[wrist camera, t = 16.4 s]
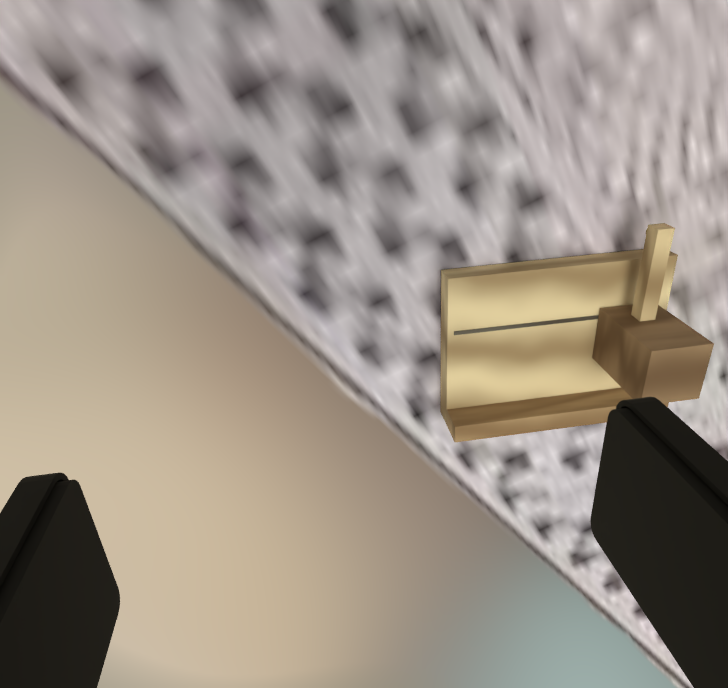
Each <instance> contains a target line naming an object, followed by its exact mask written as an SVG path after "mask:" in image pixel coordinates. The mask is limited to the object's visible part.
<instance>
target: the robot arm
mask: <svg viewBox="0 0 728 688" xmlns="http://www.w3.org/2000/svg"><path fill="white" fill-rule="evenodd" d="M591 528H592V532H593V534H594V537H595V539H596V540H597V542H598V543H599V545H600V547H601V548H602V550H603V551H604V553H605V554H606V556H607V557H608V559H609V560H610V562H611V563H612V565H613V566H614V568H615V569H616V571H617V572H618V574H619V575H620V577H621V578H622V580H623V581H624V583H625V584H626V586H627V587H628V589H629V590H630V592H631V593H632V595H633V596H634V598H635V599H636V601H637V602H638V604H639V605H640V607H641V609H642V610H643V612H644V613H645V615H646V616H647V618H648V619H649V621H650V622H651V624H652V625H653V627H654V628H655V630H656V631H657V633H658V634H659V636H660V637H661V639H662V640H663V642H664V643H665V645H666V646H667V648H668V649H669V651H670V652H671V654H672V655H673V657H674V658H675V660H676V661H677V663H678V664H679V666H680V667H681V669H682V670H683V672H684V674H685V675H686V677H687V678H688V680H689V681H690V683H691V684H692V686H693V687H694V688H728V461H727V460H726V459H724V458H723V457H722V456H721V455H720V454H719V453H718V452H717V451H716V450H714V449H713V448H712V447H711V446H710V445H709V444H708V443H707V442H705V441H704V440H703V439H702V438H701V437H700V436H699V435H698V434H697V433H695V432H694V431H693V430H692V429H691V428H690V427H689V426H688V425H686V424H685V423H684V422H683V421H682V420H681V419H680V418H679V417H678V416H676V415H675V414H674V413H673V412H672V411H671V410H670V409H669V408H667V407H666V406H665V405H664V404H663V403H662V402H661V401H660V400H658V399H657V398H655V397H644V398H636V399H628V400H622V401H620V402H619V403H618V404H617V406H616V409H613V410H611V411H610V413H609V415H608V419H607V425H606V431H605V437H604V443H603V449H602V455H601V461H600V466H599V472H598V478H597V484H596V490H595V496H594V502H593V508H592V514H591ZM119 606H120V594H119V589H118V586H117V584H116V581H115V579H114V576H113V573H112V570H111V567H110V565H109V562H108V560H107V557H106V554H105V552H104V549H103V546H102V543H101V541H100V538H99V535H98V532H97V530H96V527H95V525H94V522H93V519H92V516H91V514H90V511H89V508H88V505H87V503H86V500H85V498H84V495H83V492H82V490H81V487H80V485H79V483H78V482H77V481H76V480H68V478H67V476H66V475H65V474H63V473H53V474H46V475H38V476H30V477H25V478H23V479H22V480H21V481H20V482H19V484H18V485H17V487H16V488H15V490H14V492H13V493H12V495H11V497H10V498H9V500H8V501H7V503H6V505H5V506H4V508H3V510H2V511H1V513H0V688H97V685H98V682H99V679H100V675H101V672H102V668H103V665H104V661H105V658H106V654H107V651H108V647H109V644H110V640H111V637H112V633H113V630H114V626H115V623H116V620H117V616H118V612H119Z"/></svg>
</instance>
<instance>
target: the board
mask: <svg viewBox="0 0 728 688" xmlns="http://www.w3.org/2000/svg"><path fill="white" fill-rule="evenodd" d="M643 250H644V249H641V250H631V251H621V252H611V253H602V254H592V255H582V256H572V257H563V258H553V259H543V260H533V261H524V262H514V263H504V264H494V265H485V266H475V267H465V268H455V269H446V270H441V413H442V416H443V418H444V420H445V422H446V424H447V426H448V429H449V431H450V433H451V435H452V437H453V439H454V442H461V441H469V440H476V439H484V438H491V437H499V436H506V435H514V434H522V433H529V432H537V431H544V430H552V429H559V428H567V427H575V426H582V425H590V424H597V423H605V422H607V419H608V415H609V413H610V411H611V410H613V409H616V406H617V404H618V403H619V402H620V401H622V400H628V399H632V398H631V397H630V396H629V395H628V394H627V393H626V392H625V391H624V390H623V389H622V388H621V387H620V386H619V384H618V383H617V382H616V381H615V380H614V379H613V378H612V377H611V376H610V375H609V374H608V373H607V372H606V371H605V370H604V369H603V368H602V367H601V366H600V365H599V364H598V363H597V362H596V361H595V360H594V359H593V358H592V355H593V348H594V342H595V336H596V330H597V323H598V317H599V311H600V308H606V307H615V306H623V305H632V304H633V302H634V297H635V291H636V286H637V281H638V276H639V270H640V265H641V260H642V255H643ZM677 256H678V255H677V254H675V253H673V252H671V251H670V253H669V258H668V262H667V267H666V272H665V276H664V281H663V285H662V290H661V295H660V299H659V304H658V305H659V306H661V307H662V308H663V309H665V310H667V305H668V300H669V295H670V290H671V285H672V281H673V276H674V271H675V266H676V261H677ZM668 403H669V402H667V403H663V404H664V405H665V406H666V407H668Z"/></svg>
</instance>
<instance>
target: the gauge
mask: <svg viewBox="0 0 728 688" xmlns="http://www.w3.org/2000/svg"><path fill="white" fill-rule="evenodd" d="M674 230H675V228H673V227H671V226H669V225H667V224H665V223H661V224H651V225H648V228H647V230H646V239H645V244H644V250H643V255H642V260H641V265H640V270H639V276H638V281H637V286H636V291H635V297H634V302H633V304H632V305H623V306H615V307H606V308H600V311H599V317H598V323H597V330H596V336H595V342H594V348H593V355H592V358H593V359H594V360H595V361H596V362H597V363H598V364H599V365H600V366H601V367H602V368H603V369H604V370H605V371H606V372H607V373H608V374H609V375H610V376H611V377H612V378H613V379H614V380H615V381H616V382H617V383H618V384H619V386H620V387H621V388H622V389H623V390H624V391H625V392H626V393H627V394H628V395H629V396H630V397H631V398H632V399H636V398H644V397H655V398H657V399H658V400H660V401H661V402H662V403H667V402H675V401H682V400H690V399H697V398H699V396H700V392H701V389H702V385H703V381H704V378H705V374H706V371H707V367H708V363H709V360H710V356H711V353H712V349H713V345H714V343H712V342H711V341H709V340H708V339H706V338H705V337H704V336H702V335H701V334H699V333H698V332H696V331H695V330H694V329H692V328H691V327H689V326H688V325H686V324H685V323H684V322H682V321H681V320H679V319H678V318H676V317H675V316H673V315H672V314H671V313H669V312H668V311H666V310H665V309H663V308H662V307H661V306H659V305H658V304H659V299H660V295H661V290H662V285H663V281H664V276H665V272H666V267H667V262H668V258H669V253H670V248H671V244H672V239H673V234H674Z"/></svg>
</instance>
